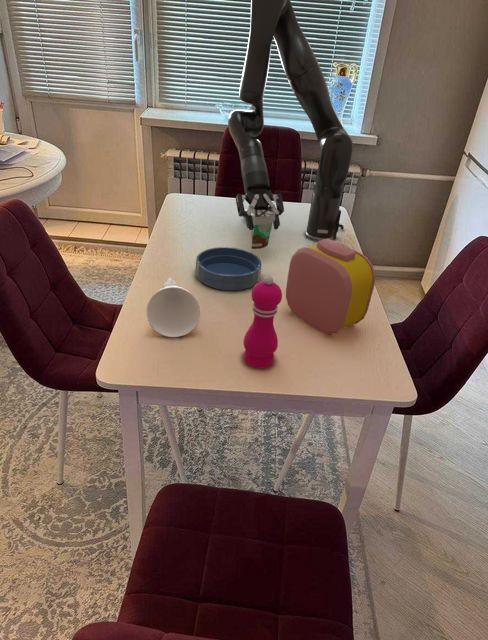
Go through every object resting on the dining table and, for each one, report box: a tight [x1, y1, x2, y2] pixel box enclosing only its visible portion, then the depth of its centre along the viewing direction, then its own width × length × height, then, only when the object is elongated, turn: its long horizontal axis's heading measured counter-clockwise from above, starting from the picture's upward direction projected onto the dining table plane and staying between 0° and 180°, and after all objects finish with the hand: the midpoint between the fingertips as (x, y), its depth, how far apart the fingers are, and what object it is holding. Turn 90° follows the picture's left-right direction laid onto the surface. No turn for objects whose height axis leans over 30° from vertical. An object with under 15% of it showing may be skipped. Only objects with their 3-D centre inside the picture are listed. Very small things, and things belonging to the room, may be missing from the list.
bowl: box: [195, 246, 263, 291], centre depth 134 cm, size 18×18×4 cm
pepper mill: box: [243, 275, 283, 369], centre depth 100 cm, size 7×7×20 cm
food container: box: [250, 206, 275, 250], centre depth 144 cm, size 12×6×10 cm, turn 179°
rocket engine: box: [146, 277, 201, 338], centre depth 115 cm, size 12×12×18 cm
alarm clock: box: [285, 239, 376, 335], centre depth 116 cm, size 18×11×19 cm, turn 41°
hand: (264, 228), depth 143 cm, fingers closed on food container, 7 cm apart
